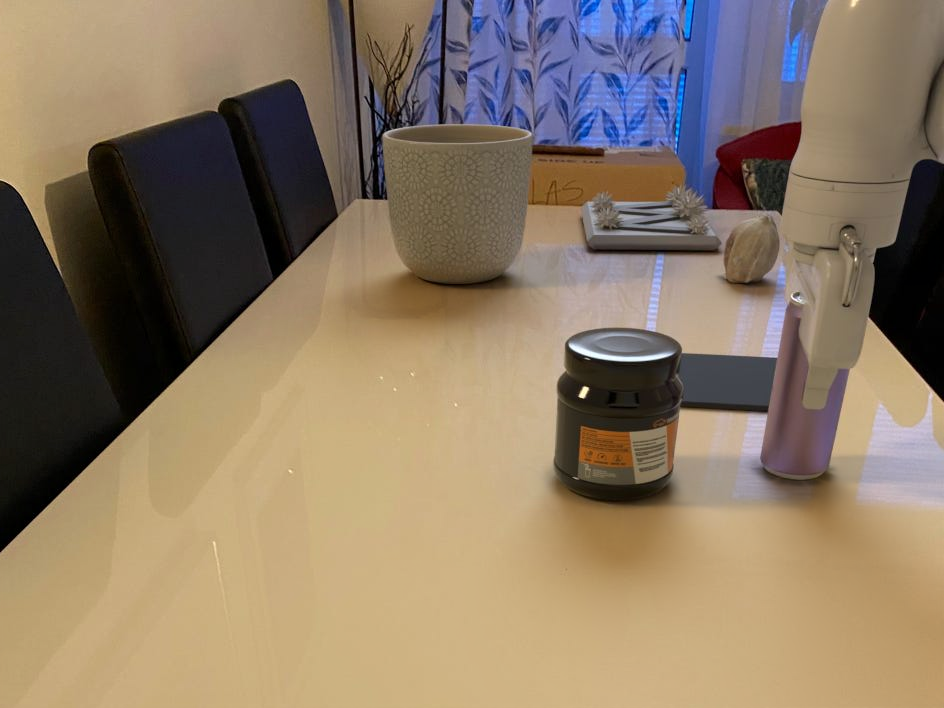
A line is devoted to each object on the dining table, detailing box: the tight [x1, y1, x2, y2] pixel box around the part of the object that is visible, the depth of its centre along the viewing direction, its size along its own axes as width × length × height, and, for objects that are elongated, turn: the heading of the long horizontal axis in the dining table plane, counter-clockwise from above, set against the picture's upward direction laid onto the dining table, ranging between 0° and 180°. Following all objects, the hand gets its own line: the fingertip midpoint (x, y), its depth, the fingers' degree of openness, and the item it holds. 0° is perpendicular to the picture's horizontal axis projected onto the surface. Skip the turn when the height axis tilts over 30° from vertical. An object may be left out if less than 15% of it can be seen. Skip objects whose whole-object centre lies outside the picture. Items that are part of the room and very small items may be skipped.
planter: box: [382, 123, 533, 285], centre depth 142 cm, size 21×21×19 cm
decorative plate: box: [580, 182, 723, 251], centre depth 169 cm, size 30×22×7 cm
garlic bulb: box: [722, 211, 781, 284], centre depth 142 cm, size 9×8×10 cm
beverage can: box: [759, 291, 851, 481], centre depth 85 cm, size 6×6×15 cm
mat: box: [677, 352, 777, 412], centre depth 107 cm, size 14×16×1 cm
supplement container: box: [552, 327, 684, 501], centre depth 84 cm, size 10×10×12 cm
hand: (805, 386), depth 85 cm, fingers open, 8 cm apart
